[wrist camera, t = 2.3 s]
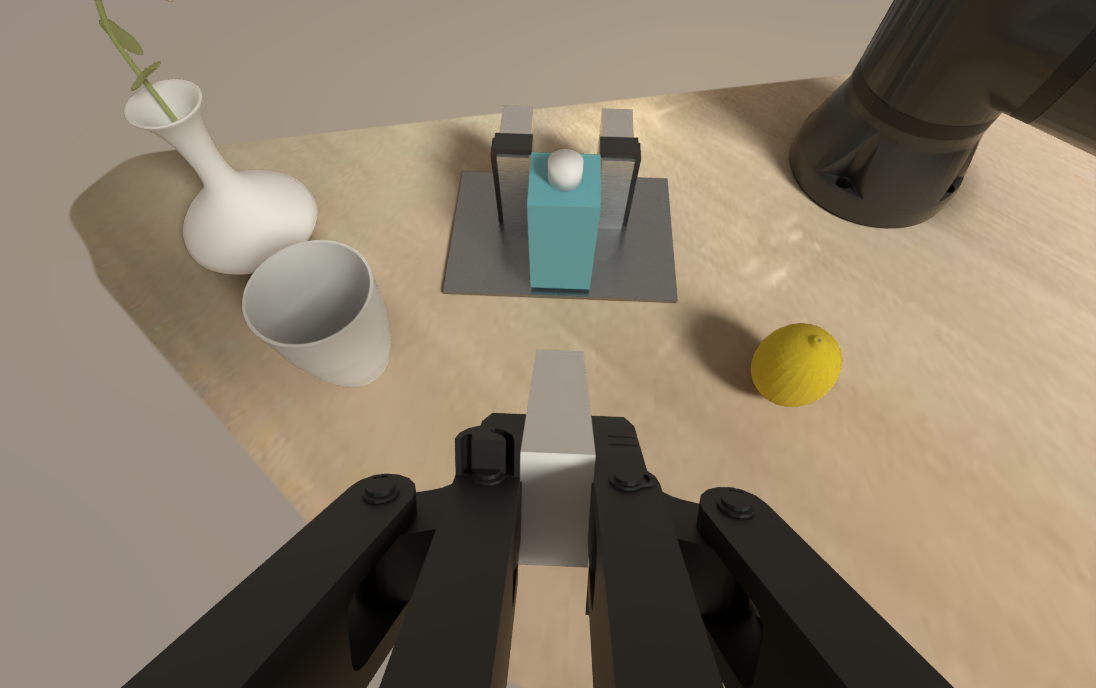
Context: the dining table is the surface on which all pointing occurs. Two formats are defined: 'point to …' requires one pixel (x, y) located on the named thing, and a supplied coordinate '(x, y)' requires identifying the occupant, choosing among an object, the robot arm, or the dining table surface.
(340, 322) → the cup
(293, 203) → the flower in vase
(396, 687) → the robot arm
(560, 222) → the teal post
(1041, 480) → the dining table surface
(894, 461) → the dining table surface
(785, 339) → the lemon
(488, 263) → the steel clamp
